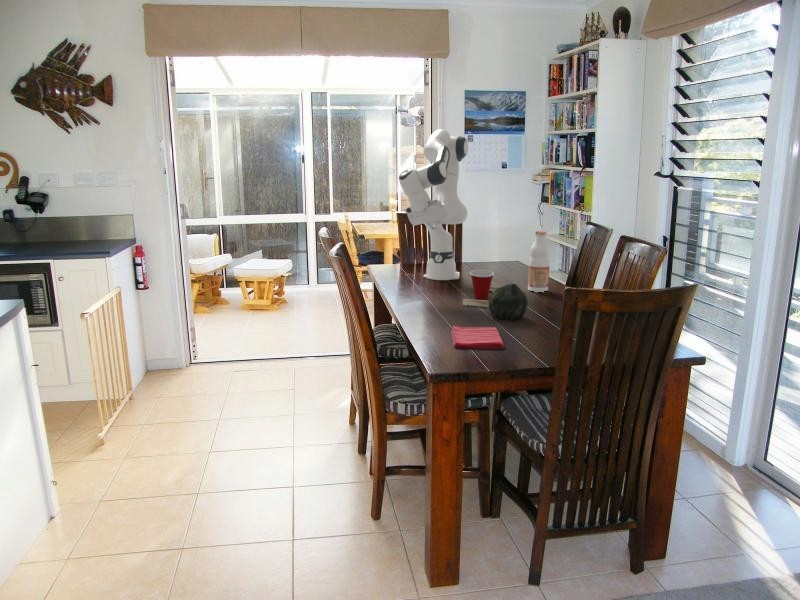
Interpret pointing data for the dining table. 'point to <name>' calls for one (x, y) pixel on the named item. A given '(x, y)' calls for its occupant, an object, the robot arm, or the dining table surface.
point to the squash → (508, 302)
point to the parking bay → (479, 302)
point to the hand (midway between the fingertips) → (435, 229)
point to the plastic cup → (481, 283)
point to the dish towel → (476, 337)
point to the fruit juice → (539, 264)
